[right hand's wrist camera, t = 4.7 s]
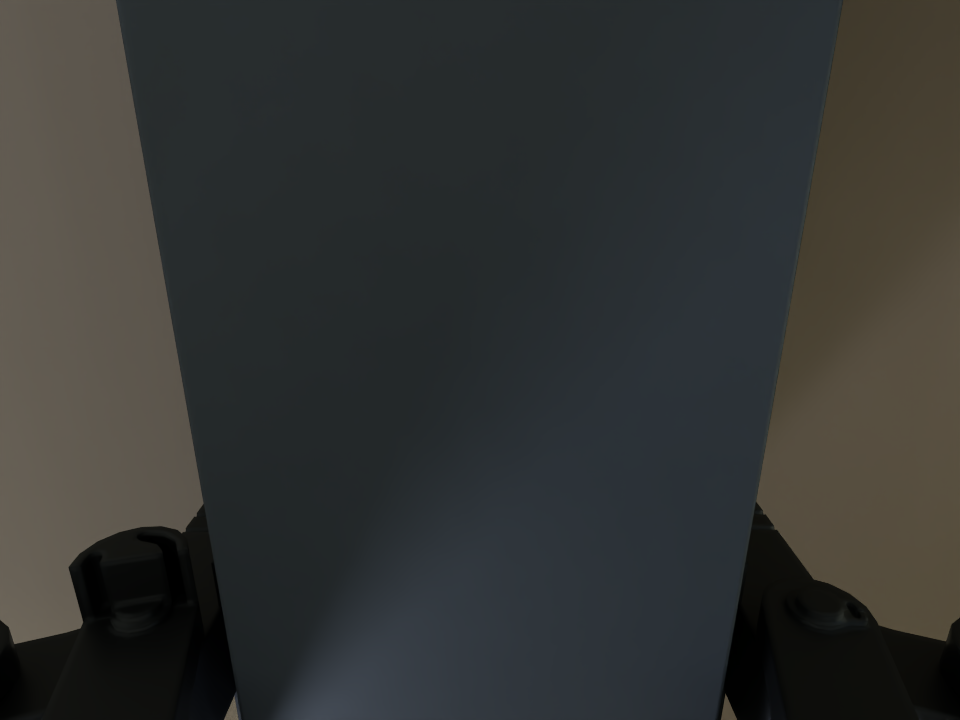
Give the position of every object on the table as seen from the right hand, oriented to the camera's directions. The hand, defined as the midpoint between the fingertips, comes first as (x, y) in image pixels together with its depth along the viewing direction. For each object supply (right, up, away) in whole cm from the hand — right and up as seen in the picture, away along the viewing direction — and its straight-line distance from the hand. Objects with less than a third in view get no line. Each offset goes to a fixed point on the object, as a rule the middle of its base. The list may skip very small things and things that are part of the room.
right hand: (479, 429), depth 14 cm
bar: (0, +22, -7) cm, 23 cm away
